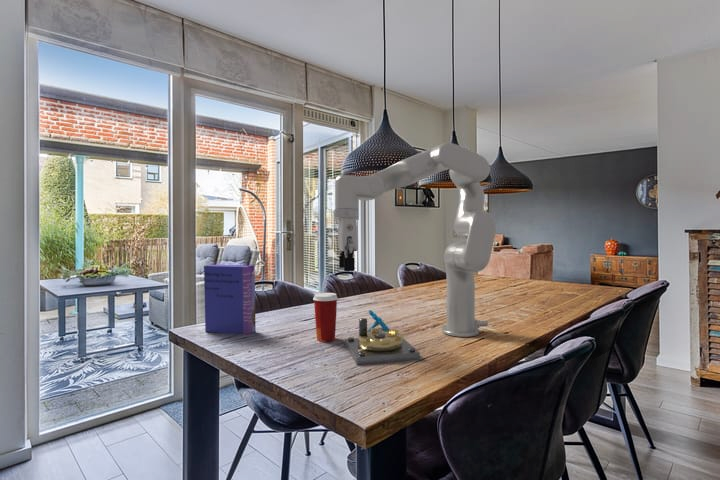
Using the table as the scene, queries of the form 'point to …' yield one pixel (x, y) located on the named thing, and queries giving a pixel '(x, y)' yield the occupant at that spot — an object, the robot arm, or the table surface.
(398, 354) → the base plate
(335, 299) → the coffee cup
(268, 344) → the table surface
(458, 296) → the robot arm
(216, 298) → the blue book
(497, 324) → the table surface
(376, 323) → the gear
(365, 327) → the brass paddle wheel
